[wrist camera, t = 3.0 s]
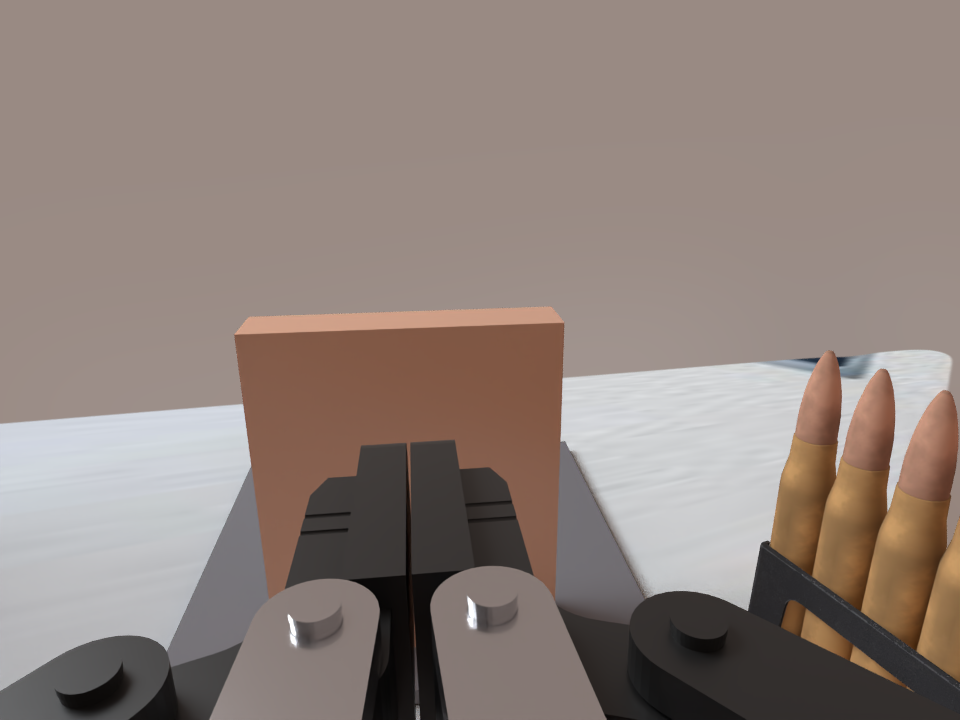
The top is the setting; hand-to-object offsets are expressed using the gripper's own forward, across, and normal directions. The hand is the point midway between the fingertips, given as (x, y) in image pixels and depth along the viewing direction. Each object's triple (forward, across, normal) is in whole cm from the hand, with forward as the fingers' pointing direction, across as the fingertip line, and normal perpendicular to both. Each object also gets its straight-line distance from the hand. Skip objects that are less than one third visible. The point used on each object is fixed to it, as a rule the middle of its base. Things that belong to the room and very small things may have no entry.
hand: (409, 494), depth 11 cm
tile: (+11, 0, +12) cm, 17 cm away
